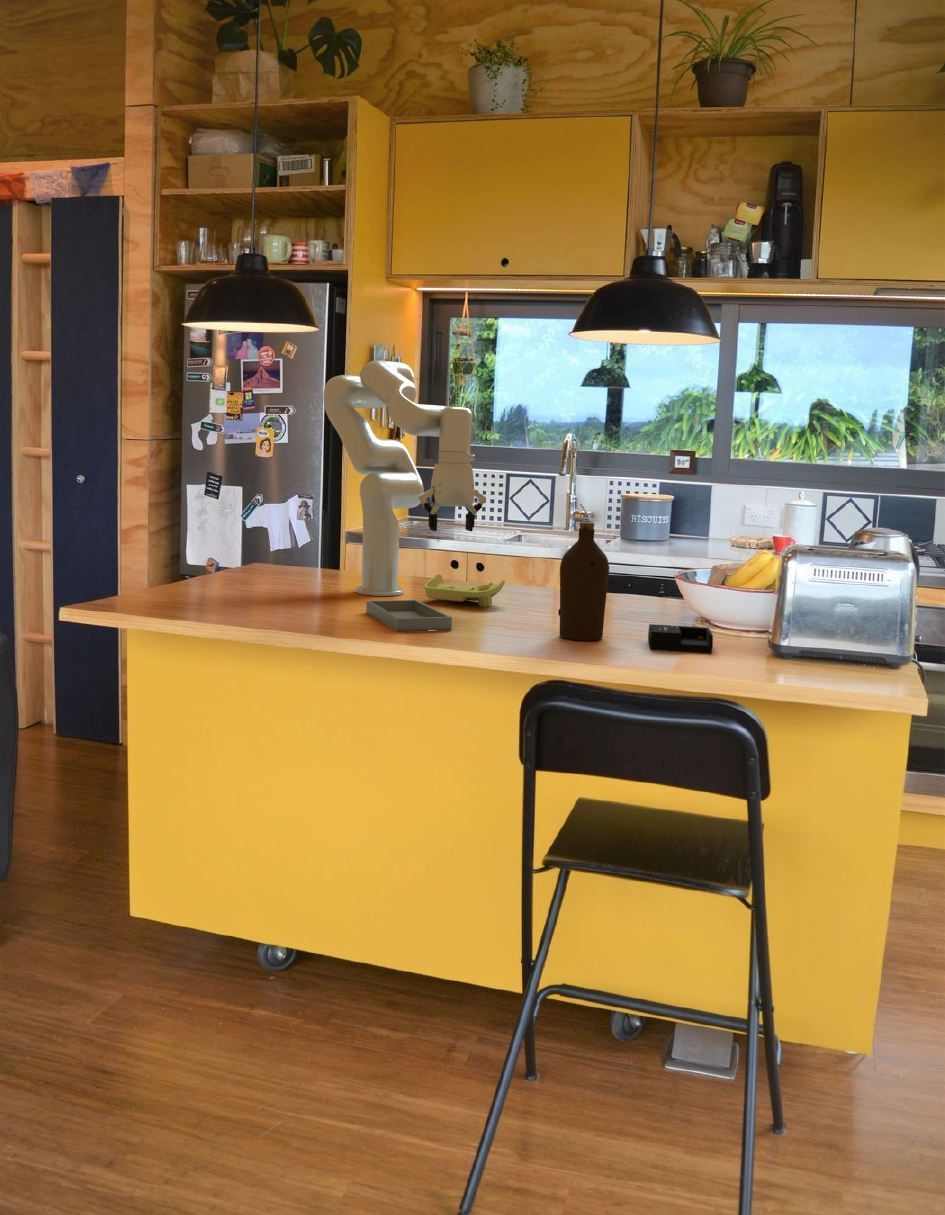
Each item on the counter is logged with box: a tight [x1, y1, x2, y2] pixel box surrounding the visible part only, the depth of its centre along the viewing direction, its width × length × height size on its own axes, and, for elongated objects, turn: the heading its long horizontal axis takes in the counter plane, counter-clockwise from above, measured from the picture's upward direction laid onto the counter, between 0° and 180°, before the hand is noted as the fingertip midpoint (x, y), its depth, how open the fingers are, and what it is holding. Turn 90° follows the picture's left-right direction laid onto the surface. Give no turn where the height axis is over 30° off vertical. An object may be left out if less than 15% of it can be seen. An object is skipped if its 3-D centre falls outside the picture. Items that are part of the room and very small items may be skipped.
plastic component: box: [424, 573, 506, 608], centre depth 286 cm, size 20×7×10 cm
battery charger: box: [647, 623, 714, 654], centre depth 242 cm, size 13×10×4 cm
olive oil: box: [557, 521, 610, 642], centre depth 246 cm, size 11×11×25 cm
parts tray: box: [365, 599, 453, 633], centre depth 258 cm, size 24×12×3 cm, turn 21°
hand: (451, 530), depth 276 cm, fingers open, 8 cm apart
